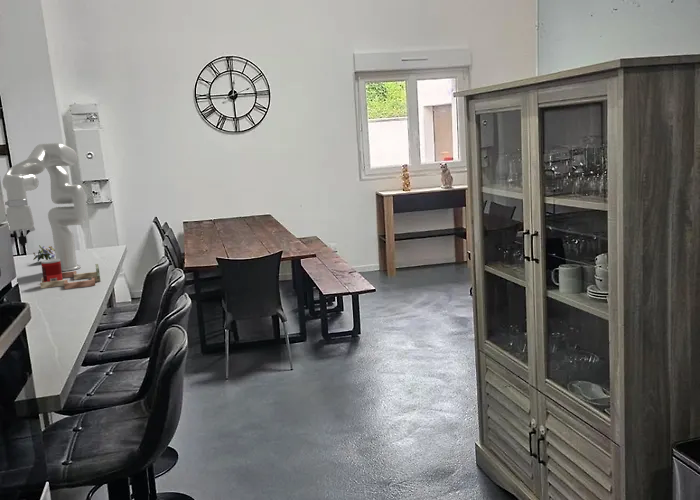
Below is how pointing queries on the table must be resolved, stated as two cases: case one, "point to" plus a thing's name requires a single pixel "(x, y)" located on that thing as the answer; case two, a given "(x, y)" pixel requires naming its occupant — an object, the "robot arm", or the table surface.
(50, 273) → the canned food
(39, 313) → the table surface
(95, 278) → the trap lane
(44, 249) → the passion flower
